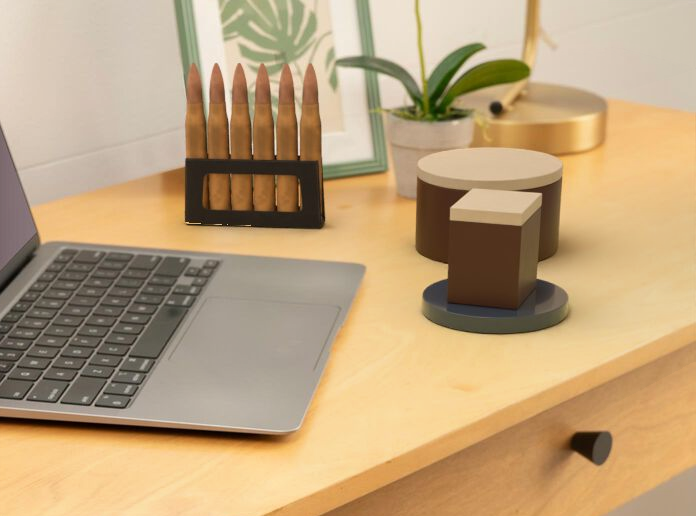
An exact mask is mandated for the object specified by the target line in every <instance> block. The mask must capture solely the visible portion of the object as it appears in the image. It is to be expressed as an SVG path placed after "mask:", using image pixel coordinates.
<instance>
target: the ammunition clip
mask: <svg viewBox="0 0 696 516" xmlns="http://www.w3.org/2000/svg"><path fill="white" fill-rule="evenodd" d="M236 64H237V65H236V66H235V70H234V73H233V77H232V78H233V79H232V85H231V86H232V88H231V114H230V121H229V117H228V116H229V115H228V113H227V102H226V89H225V82H224V77H223V72H222V70H221V67H220V65H219V64H218V62H215V63H214V64H213V66H212V70H211V74H210V80H209V89H208V92H209V93H208V95H209V97H208V99H209V101H208V115H207V116H208V117H207V119H206V115H205V114H206V113H205V107H204V99H203V87H202V80H201V75H200V72H199V68H198V66H197V65H196V62H192V63H191V65H190V68H189V69H188V70H189V71H188V75H187V81H186V114H185V120H184V133H185V134H184V135H185V137H184V138H185V159H184V223H185V222H189V223H201V224H222V225H227V224H228V225H251V226H263V227H262V228H281V227H289V228H288V229H317V230H318V229H319V230H320V229H321V228H322V227H323V226H324V224H325V223H326V208H325V205H326V204H325V187H324V185H325V184H324V169H323V166H324V165H323V153H322V152H323V149H322V147H323V146H322V145H323V144H322V142H323V141H322V139H323V138H322V119H321V114H320V102H319V85H318V84H319V83H318V79H317V75H316V70H315V67H314V66H313V64H312V63H311V62H310V63H308V65H307V67H306V69H305V72H304V77H303V83H302V103H301V115H300V120H299V122H298V118H297V112H296V101H295V99H296V97H295V85H294V79H293V75H292V71H291V68H290V66H289V64H288V63H287V62H285V63H284V64H283V66H282V70H281V73H280V77H279V82H278V83H279V84H278V103H277V117H276V123H275V120H274V116H273V115H274V114H273V105H272V93H271V92H272V91H271V83H270V77H269V74H268V70H267V67H266V65H265V63H263V62H261V63H260V64H259V67H258V70H257V73H256V79H255V88H254V113H253V120H251V119H252V118H251V114H250V106H249V105H250V102H249V91H248V83H247V77H246V73H245V70H244V67H243V64H242V63H241V62H238V63H236ZM275 135H276V136H275ZM268 226H269V227H268Z"/></svg>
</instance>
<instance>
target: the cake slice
mask: <svg viewBox="0 0 696 516" xmlns="http://www.w3.org/2000/svg"><path fill="white" fill-rule="evenodd" d="M541 204H542V193H532V192H518V191H504V190H490V189H475V188H473V189H472V190H470V191H469V192H468V193H467V194H466V195H465V196H463V197H462V198H461V199H460V200H459V201H458V202H456V203H455V204H454V205H453V206H452V207H450V229H449V257H448V263H447V279H448V284H447V303H455V304H465V305H475V306H484V307H494V308H504V309H514V310H516V309H518V307H519V306H520V305H521V304H522V303H523V301H524V300H525V299H526V298H527V297H528V295H529V294H530V293H531V292H532V291H533V289H534V288H535V287H536V282H537V279H538V267H539V265H538V264H539V261H538V251H539V235H540V219H541Z"/></svg>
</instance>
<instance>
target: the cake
mask: <svg viewBox="0 0 696 516" xmlns="http://www.w3.org/2000/svg"><path fill="white" fill-rule="evenodd" d="M416 168H417V169H416V197H415V198H416V199H415V200H416V201H415V203H416V204H415V210H416V211H415V241H414V243H415V244H414V246H415V250H416V251H417V252H418V253H419V254H421V255H422V256H424V257H425V258H428V259H431V260H434V261H437V262H441V263H446V264H448V257H449V229H450V207H452V206H453V205H454V204H455V203H456V202H458V201H459V200H460V199H461V198H462V197H463V196H465V195H466V194H467V193H468V192H469V191H470V190H472V189H473V188H475V189H490V190H504V191H518V192H532V193H542V204H541V219H540V235H539V251H538V262H539V261H543V260H545V259H548V258H549V257H552V256H553V255H554V254H556V252H558V248H559V236H560V220H561V219H560V218H561V206H562V205H561V204H562V189H563V175H564V162H563V161H562V160H561V159H560V158H558V157H557V156H555V155H553V154H550V153H546V152H542V151H537V150H531V149H524V148H515V147H514V148H513V147H496V146H495V147H492V146H491V147H490V146H489V147H486V146H485V147H464V148H457V149H456V148H455V149H448V150H442V151H438V152H433V153H431V154H428V155H426V156H423V157H421V159H419V160H418V161H417V165H416Z"/></svg>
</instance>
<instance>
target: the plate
mask: <svg viewBox="0 0 696 516" xmlns="http://www.w3.org/2000/svg"><path fill="white" fill-rule="evenodd" d="M447 284H448V278H444V279H441V280H438V281H435V282H433V283H431V284H430V285H428V286H426V287H425V289H423V291H422V295H421V312H422V314H423V315H424V317H425V318H426V319H428V320H429V321H430V322H431V321H432V322H433V323H434V324H438V325H440V326H443V327H446V328H450V329H453V330H458V331H464V332H470V333H481V334H520V333H528V332H534V331H538V330H539V331H540V330H543V329H547V328H550V327H553V326H555V325H557V324H559V323H561V322H562V321H563V320H564V319H566V317H567V315H568V311H569V294H568V292H567V291H566V290H565V289H564V288H563V287H561V286H559V285H557V284H556V283H553V282H550V281H547V280H543V279H540V278H537V282H536V287H535V288H534V289H533V291H532V292H531V293H530V294H529V295H528V297H527V298H526V299H525V300H524V301H523V303H522V304H521V305H520V306H519V307H518V309H516V310H514V309H504V308H494V307H484V306H475V305H465V304H455V303H447Z"/></svg>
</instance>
